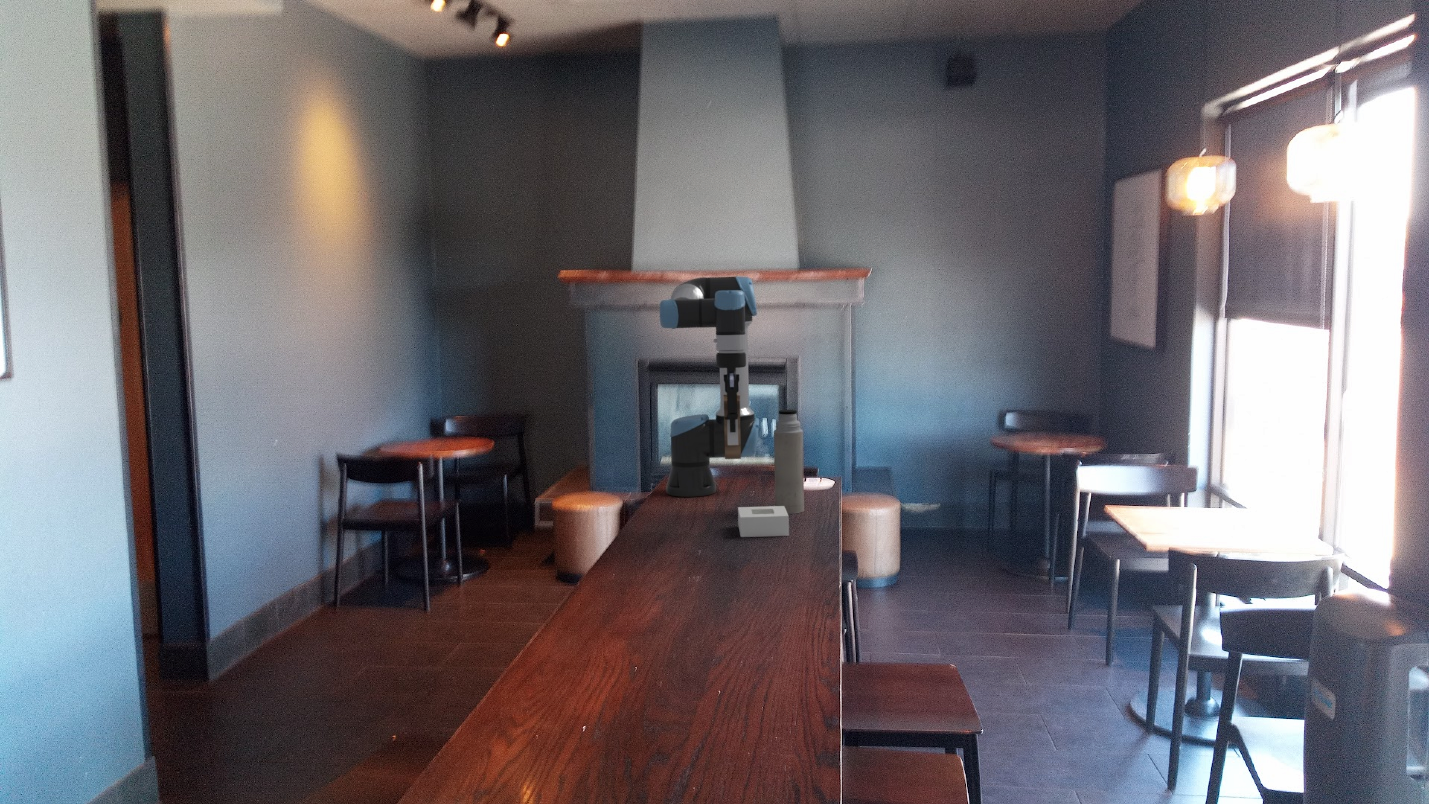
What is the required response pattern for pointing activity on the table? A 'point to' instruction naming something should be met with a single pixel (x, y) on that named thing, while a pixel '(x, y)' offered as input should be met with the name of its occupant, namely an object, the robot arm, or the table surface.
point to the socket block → (763, 521)
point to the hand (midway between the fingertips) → (732, 443)
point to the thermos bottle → (789, 462)
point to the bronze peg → (730, 450)
